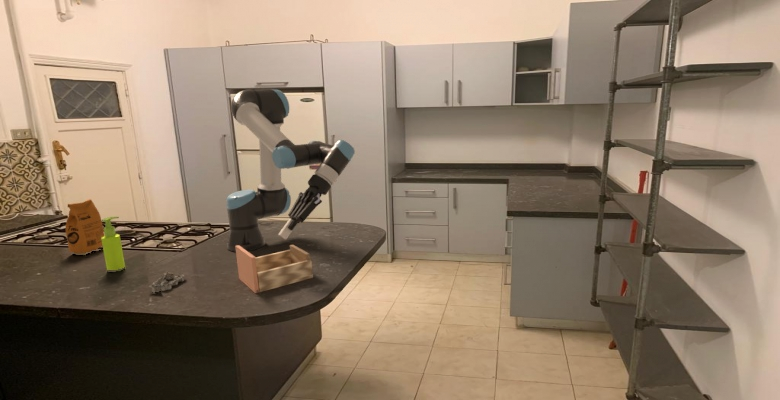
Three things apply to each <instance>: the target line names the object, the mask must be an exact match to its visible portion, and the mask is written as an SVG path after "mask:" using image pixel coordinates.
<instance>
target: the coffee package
mask: <svg viewBox="0 0 780 400" xmlns="http://www.w3.org/2000/svg"><path fill="white" fill-rule="evenodd" d="M67 208H69V212H68V217H67V219H66V223H65V234H66V239H67V245H68V246H67V247H68V253H70V252H74V253H86V252H90V251H92V250H96V249H98V248H99V247H101V246H103V245H102V240H101V238H102V237H103V236H105V234H104V226H103V221H102V218H101V214H100V212H99V210H98V209H97V207H96V205H95V203H94V202H93V200H92V199H91V198H89V199H87V200H84V201H83V202H75V203H73V202H72V203H67Z"/></svg>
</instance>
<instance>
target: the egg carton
mask: <svg viewBox="0 0 780 400" xmlns="http://www.w3.org/2000/svg"><path fill="white" fill-rule="evenodd" d="M185 276H186V274H183V273H182V274H179V273H177V276H176V275H175V273H173V272H169V270H167V271H165V272H164V273H162V274H161V277H159V278H157V280H156V281H153V283H151V284H150V285H148V287H149V288H151V292H156V291H161V292H162V291H163V292H164V291H167V290H171V289H172V287H174V286H177V285H178V284H179V282H185V278H184V277H185ZM170 280H172V281H170Z"/></svg>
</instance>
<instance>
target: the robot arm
mask: <svg viewBox="0 0 780 400" xmlns="http://www.w3.org/2000/svg"><path fill="white" fill-rule="evenodd" d="M230 111H231V114H232V116H233V118H234V119H235V121H236V122H238V124H240V125H241V126H245V127H246V128H247V129H249V131H250V132H251V133H252V134H253V135H254V136H255V137H256V138H257V139H258V145H259V169H260V171H259V172H260V182H259V184H257V185H256V187H257V191H255V190H254V189H245V190H243V189H242V190H239V191H235V192H232V193H231V194H229V195H228V196H227V198H226V210H227V218H228V226H229V233H228V234H229V235H228V240H227V243H226V246H227V250H228V251H230V252H235V253H236V248H235V246H237V245H239V246H241V247H242V248H244V249H245V250H246V251H248V252H251V251H255V250H257V249H260V248H262V247H264V246H265V244H266V243H265V242H266V241H265V237H264V236H263V234H262V231H261V229H260V227H259V220H261V219H266V218H270V217H276V216H277V217H278V216H280V215H283V214H285V213H287V212H288V211H289V210H290V211H289V212H288V214H287V215H288V217H289V219H288V220H287V221H286V223H285V224H284V226H283V227H282V228H281V230H280V231H279V232H278V235H277V236H280V237H281V238H283V239H284V240H287V239H288V237H289V236H290V235H291V233H292V232H293V230H294V229H295V228H296V227H297V225H298V224H300V223H301V224H302V223H304V222H305V221H306V219H307V218H309V216H310V215H311V214H312V213H313V212H314V210H315V209H316V208H317V207H318V206H319V205H320V204H321V203H322V202H323V200H321V197H322V196H326V195H327V193H328V192H329V191H330V189H331V188H332V186H333V185H334V183H335V182H337V180H338V178H339V177H340V175H341V174H342V172H343V171H344V170H345V168H347V166H348V164H349V163H350V162H351V160H352V158H353V157H354V155H355V152H356V150H355V148H354V147H353V146H352V145H351V144H350V143H349V142H347V141H346V140H343V139H339V140H338V139H337V141H336V142H335V143H334V144H329V143H327V142H323V141H320V140H318V141H317V140H312V141H310V142H307V143H304V144H295V143H293V141H292V140H290V138H288V137H287V135H285V134H284V133H283V132H282V131H281V127H282V126H283V124H284V119H285V118H287V117H288V116H289V114H290V104H289V99H288V98H287V96H286V95H285V93H284V92H283V91H281V90H280V89H273V88H268V89H267V88H265V89H261V88H260V89H259V88H258V89H249V88H248V89H243V90H240V91H238V92H237V93H236V94H234V96H233V98H232V100H231V103H230ZM311 165H318V167H316V170H315V171H314V174H312V175H311V177H310V178H309V180H308V181H307V184H308V187H307V189H306V190H305V191H304V192H302V191H301V192H299V194H298V197H297V199H296V200H295V202H294V204H293V205H292V207H291V202H292V200H291V199H292V198H291V194H290V191H289V189H288V188H286V186H285V183H283V182H282V169H293V168H298V167H305V166H311ZM290 207H291V209H290Z"/></svg>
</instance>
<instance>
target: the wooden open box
mask: <svg viewBox="0 0 780 400" xmlns="http://www.w3.org/2000/svg"><path fill="white" fill-rule="evenodd" d="M310 257H311V256H310V253H309V252H307V251H305V250H304V249H302V248H301V247H298V246H296V245H294V244H290V245H289V249H286V250H283V251H282V250H281V251H277V252H275V253H269V254H265V255H264V254H263V255H260V256H257V257H256V256H255V260H256V269H257V278H258V287H259V292H258V293H262V292H265V291H269V290H272V289H277V288H281V287H283V286H287V285H291V284H294V283H298V282H302V281H303V282H304V281H306V280H309V279H313V278H314V274H313V265H312V264H313V263H312V262H313V261H312V259H311V258H310Z"/></svg>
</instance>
